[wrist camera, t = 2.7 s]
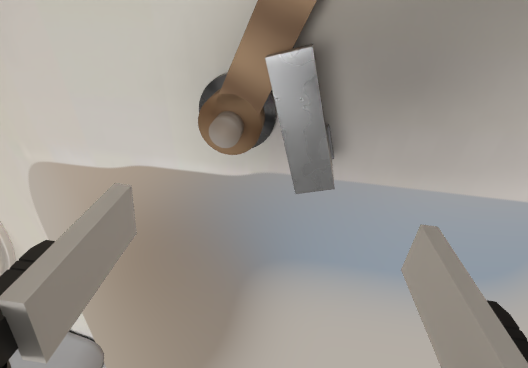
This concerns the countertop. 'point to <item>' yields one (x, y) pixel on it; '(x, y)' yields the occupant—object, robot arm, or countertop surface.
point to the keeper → (302, 118)
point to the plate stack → (5, 251)
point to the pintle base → (268, 106)
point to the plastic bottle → (67, 355)
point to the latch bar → (251, 76)
